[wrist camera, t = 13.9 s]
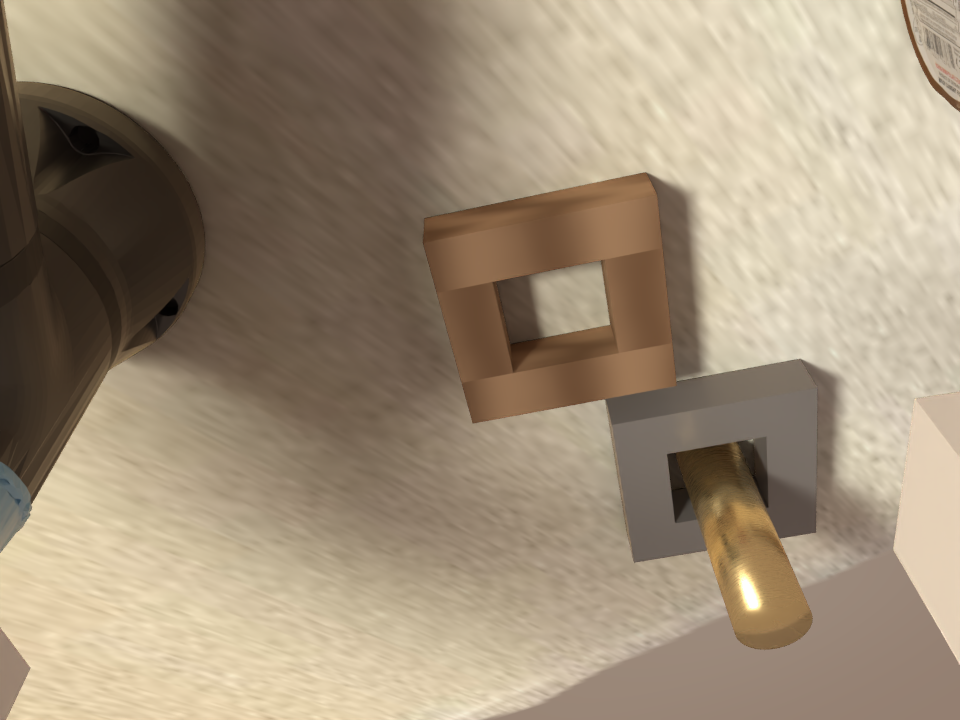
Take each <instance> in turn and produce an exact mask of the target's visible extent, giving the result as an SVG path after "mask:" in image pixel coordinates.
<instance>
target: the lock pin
mask: <svg viewBox="0 0 960 720" xmlns="http://www.w3.org/2000/svg"><path fill="white" fill-rule="evenodd" d="M676 458H677V461H678V464H679V467H680V470H681V473H682V476H683V479H684V482H685V485H686V488H687V491H688V494H689V497H690V500H691V503H692V506H693V509H694V512H695V515H696V518H697V521H698V524H699V527H700V530H701V533H702V536H703V539H704V542H705V545H706V548H707V551H708V554H709V557H710V560H711V563H712V566H713V569H714V572H715V575H716V578H717V581H718V584H719V587H720V590H721V593H722V596H723V599H724V602H725V605H726V608H727V611H728V614H729V617H730V620H731V623H732V626H733V629H734V632H735V635H736V637H737V639H738V640H739V641H740V642H741V643H742V644H744V645H746V646H748V647H751V648H755V649H775V648H780V647H783V646H787V645H789V644H791V643H793V642H795V641H797V640H798V639H800V638H801V637H802V636H804V635H805V634H806V632H807V631H808V630H809V629H810V626H811V624H812V619H813V618H812V613H811V611H810V608H809V606H808V604H807V601H806V599H805V597H804V594H803V592H802V590H801V588H800V585H799V583H798V581H797V578H796V576H795V574H794V571H793V569H792V567H791V565H790V562H789V560H788V558H787V555H786V553H785V551H784V548H783V546H782V544H781V541H780V539H779V537H778V535H777V532H776V530H775V528H774V525H773V523H772V521H771V518H770V516H769V514H768V512H767V509H766V507H765V505H764V502H763V500H762V498H761V495H760V493H759V491H758V488H757V486H756V484H755V482H754V479H753V477H752V475H751V472H750V470H749V468H748V465H747V463H746V461H745V458H744V456H743V454H742V452H741V449H740V447H739V445H738V442H732V443H726V444H721V445H715V446H709V447H704V448H698V449H692V450H687V451H681V452H676Z"/></svg>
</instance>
